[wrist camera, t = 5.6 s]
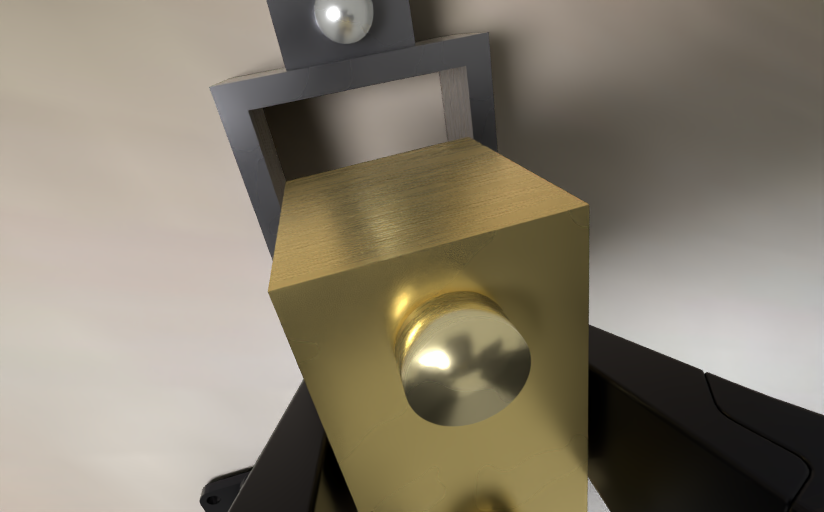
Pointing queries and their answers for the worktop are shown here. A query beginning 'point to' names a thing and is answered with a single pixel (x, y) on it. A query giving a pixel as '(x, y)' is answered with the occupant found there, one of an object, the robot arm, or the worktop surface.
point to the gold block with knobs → (442, 328)
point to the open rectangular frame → (347, 81)
